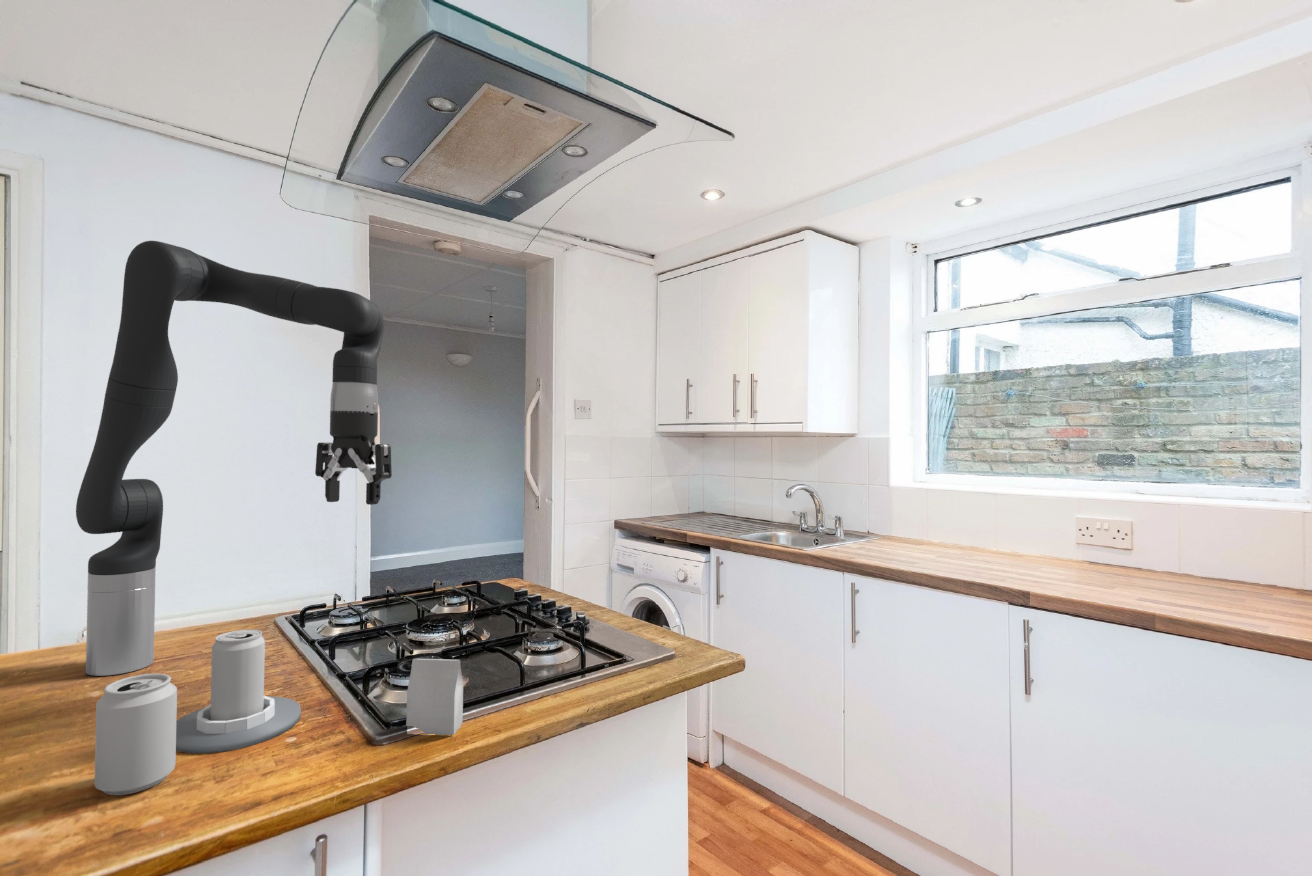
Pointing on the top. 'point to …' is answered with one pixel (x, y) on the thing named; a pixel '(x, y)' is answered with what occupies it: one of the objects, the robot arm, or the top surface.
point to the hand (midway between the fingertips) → (352, 503)
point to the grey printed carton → (435, 696)
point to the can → (135, 734)
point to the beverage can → (237, 675)
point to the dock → (235, 727)
